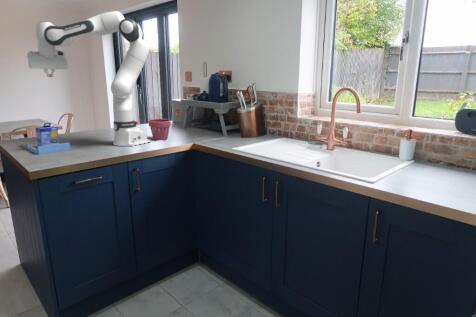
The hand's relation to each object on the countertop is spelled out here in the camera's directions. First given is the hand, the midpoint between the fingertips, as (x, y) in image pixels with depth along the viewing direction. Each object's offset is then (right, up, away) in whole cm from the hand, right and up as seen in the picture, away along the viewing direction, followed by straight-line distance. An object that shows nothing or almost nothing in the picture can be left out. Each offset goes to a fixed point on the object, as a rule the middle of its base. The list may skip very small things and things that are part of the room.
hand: (50, 77), depth 191 cm
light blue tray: (-1, -41, -3) cm, 41 cm away
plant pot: (+58, -35, +26) cm, 73 cm away
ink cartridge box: (+2, -42, -4) cm, 42 cm away
